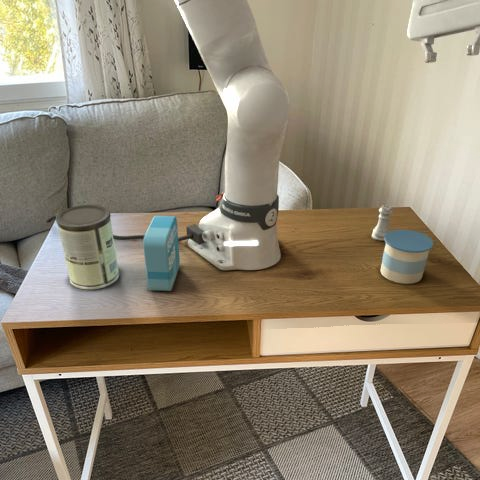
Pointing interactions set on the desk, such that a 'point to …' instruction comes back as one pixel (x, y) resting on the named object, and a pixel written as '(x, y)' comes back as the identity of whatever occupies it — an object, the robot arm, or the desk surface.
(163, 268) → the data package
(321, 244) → the desk surface
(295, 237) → the desk surface
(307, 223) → the desk surface
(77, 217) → the coffee can
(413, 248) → the yogurt tub
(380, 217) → the rook chess piece
